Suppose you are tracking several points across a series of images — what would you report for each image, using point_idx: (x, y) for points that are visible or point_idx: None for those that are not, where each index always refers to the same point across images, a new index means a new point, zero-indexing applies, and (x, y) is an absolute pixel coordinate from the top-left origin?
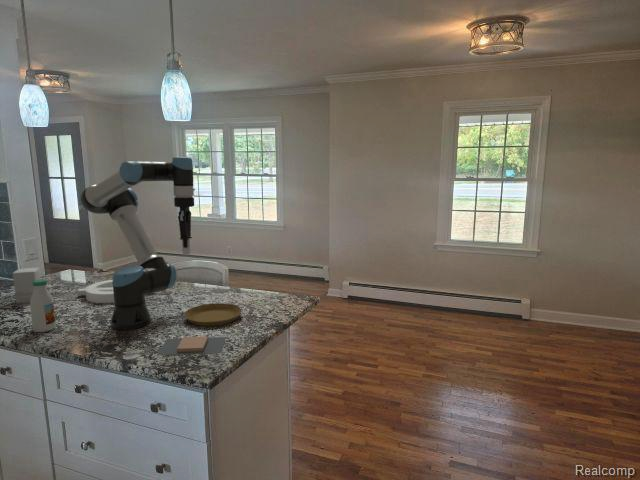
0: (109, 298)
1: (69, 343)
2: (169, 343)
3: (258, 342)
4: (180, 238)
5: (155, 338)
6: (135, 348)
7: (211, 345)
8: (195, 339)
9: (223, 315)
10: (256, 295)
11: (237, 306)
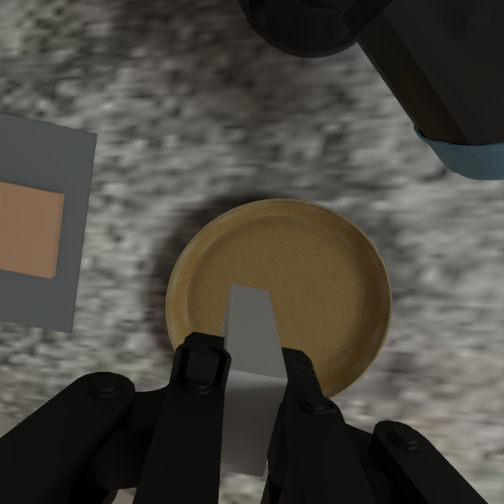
0: None
1: None
2: (48, 144)
3: (17, 420)
4: (175, 359)
5: (119, 89)
6: (36, 19)
7: (6, 283)
8: (29, 236)
9: (285, 339)
10: (490, 473)
11: None
